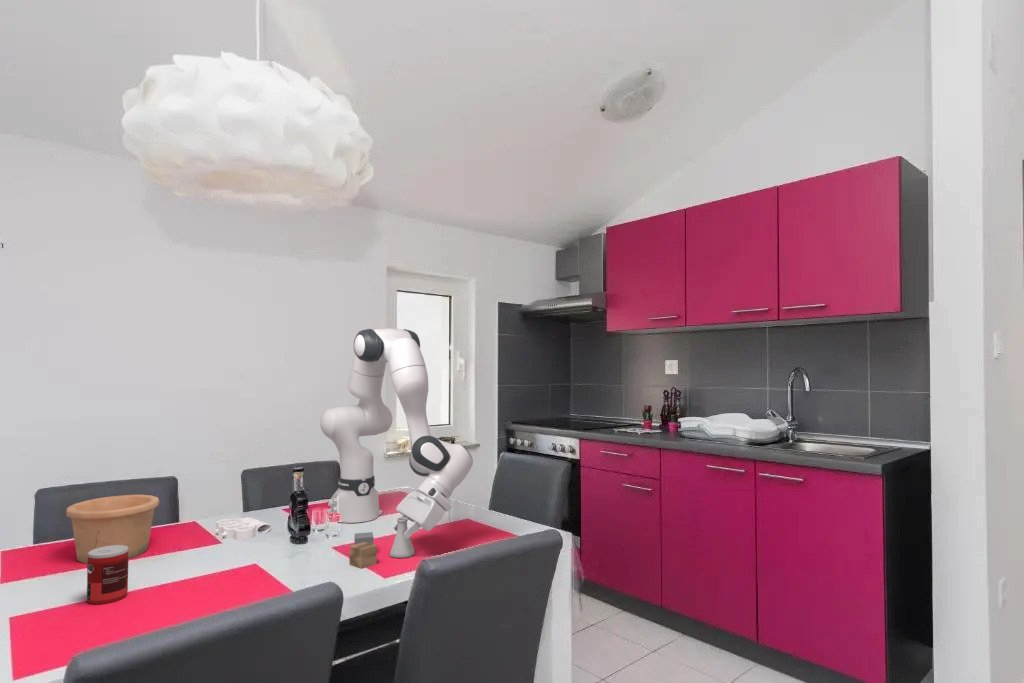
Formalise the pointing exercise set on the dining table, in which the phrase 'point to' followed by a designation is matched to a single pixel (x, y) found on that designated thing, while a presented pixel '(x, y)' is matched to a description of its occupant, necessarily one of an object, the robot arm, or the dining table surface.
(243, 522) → the white holed piece
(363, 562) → the walnut block
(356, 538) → the charcoal block
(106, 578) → the canned food
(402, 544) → the flask
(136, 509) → the pottery
